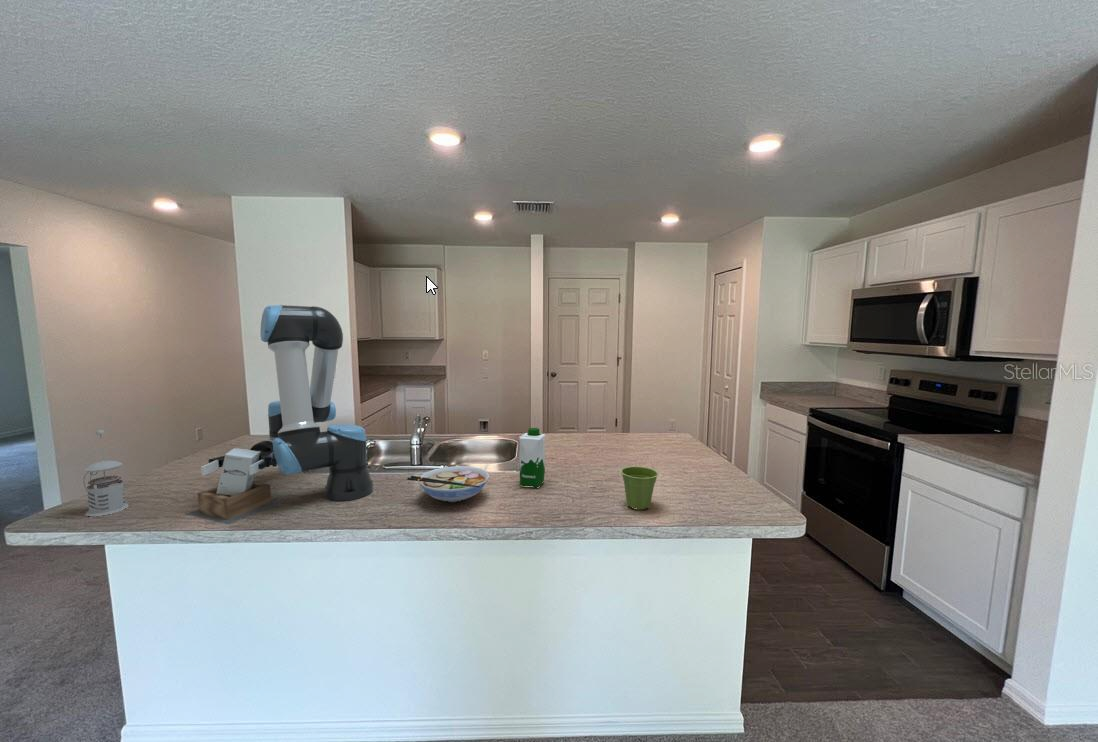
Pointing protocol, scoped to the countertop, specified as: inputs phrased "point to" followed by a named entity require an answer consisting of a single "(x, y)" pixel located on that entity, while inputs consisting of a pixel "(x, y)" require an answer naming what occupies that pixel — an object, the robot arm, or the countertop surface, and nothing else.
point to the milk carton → (532, 458)
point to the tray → (234, 501)
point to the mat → (226, 521)
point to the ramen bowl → (453, 482)
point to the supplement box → (237, 471)
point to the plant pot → (639, 485)
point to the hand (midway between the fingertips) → (226, 470)
